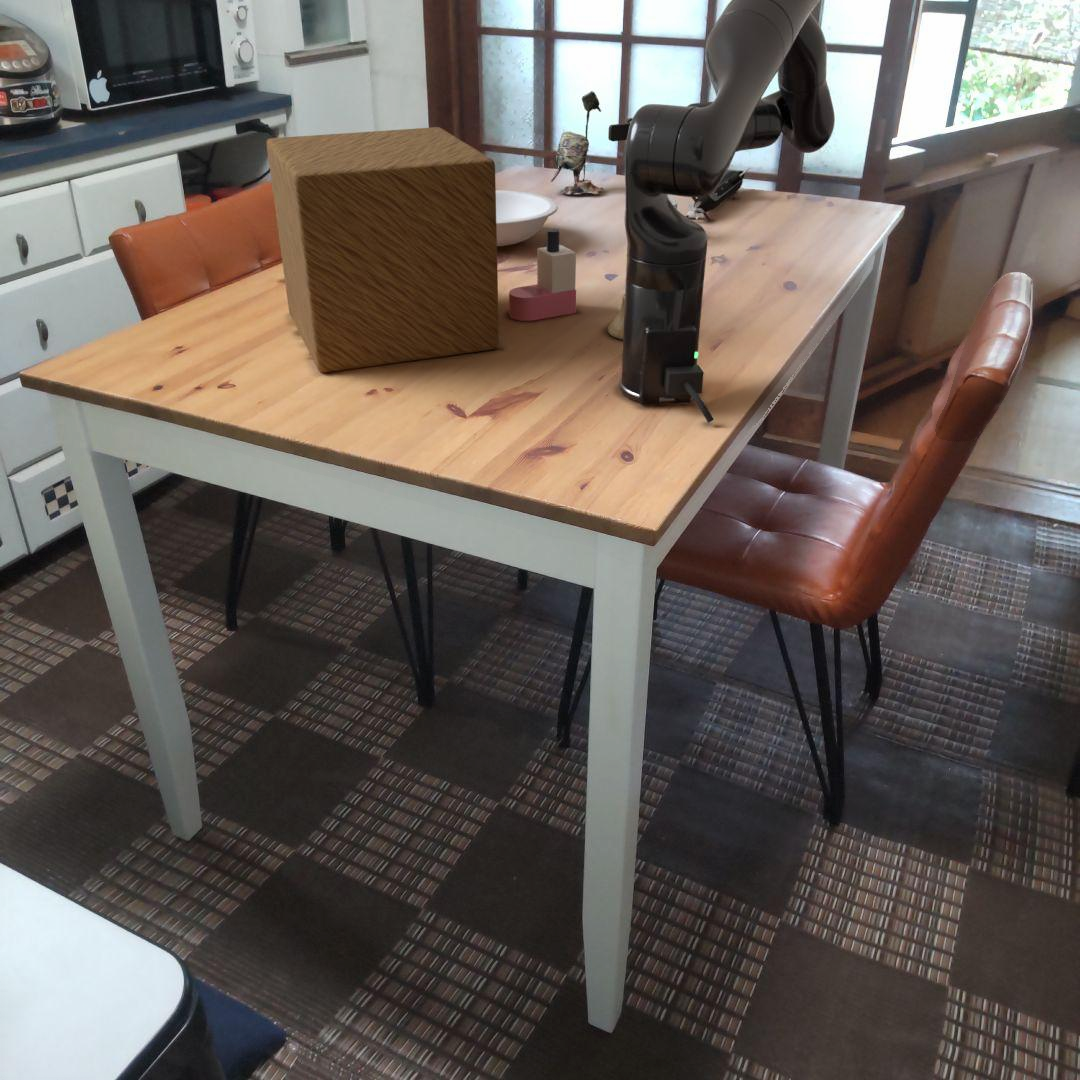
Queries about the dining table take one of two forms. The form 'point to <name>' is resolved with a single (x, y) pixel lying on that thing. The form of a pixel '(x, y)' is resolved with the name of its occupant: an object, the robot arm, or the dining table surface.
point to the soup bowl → (520, 215)
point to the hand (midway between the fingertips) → (625, 138)
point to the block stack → (547, 284)
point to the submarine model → (717, 194)
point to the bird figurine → (577, 152)
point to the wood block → (387, 245)
